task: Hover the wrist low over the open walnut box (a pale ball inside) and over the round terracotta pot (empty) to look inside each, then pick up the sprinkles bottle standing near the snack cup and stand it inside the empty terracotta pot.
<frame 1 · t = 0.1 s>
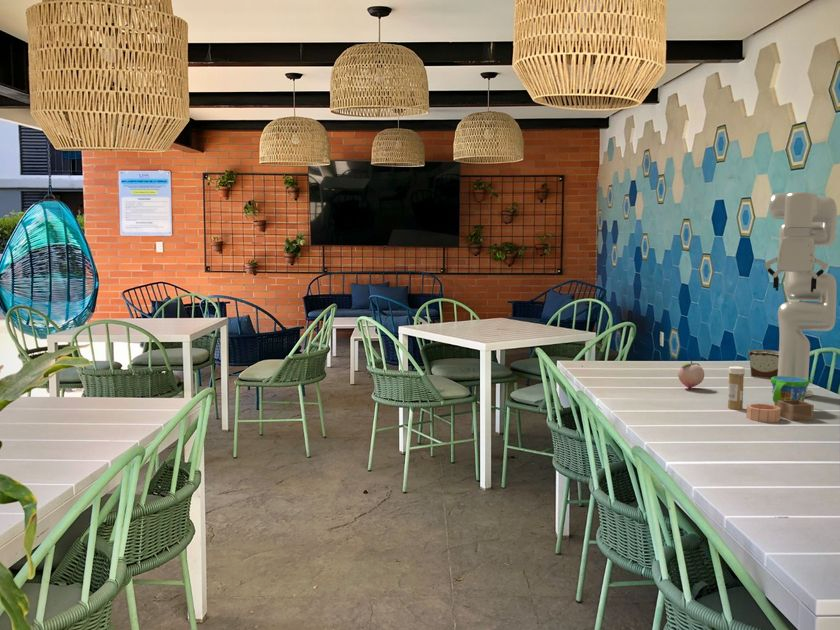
hand: (794, 291, 246), 37 cm above the table, tool pointing down, fingers open, 9 cm apart
walnut box: (794, 419, 240), on the table
sprinkles bottle: (734, 410, 252), on the table
food container: (765, 377, 313), on the table
pot: (762, 420, 239), on the table
decorative fruit: (691, 389, 287), on the table
ball: (794, 417, 240), point 1 cm above the table, touching walnut box
snack cup: (788, 411, 251), on the table
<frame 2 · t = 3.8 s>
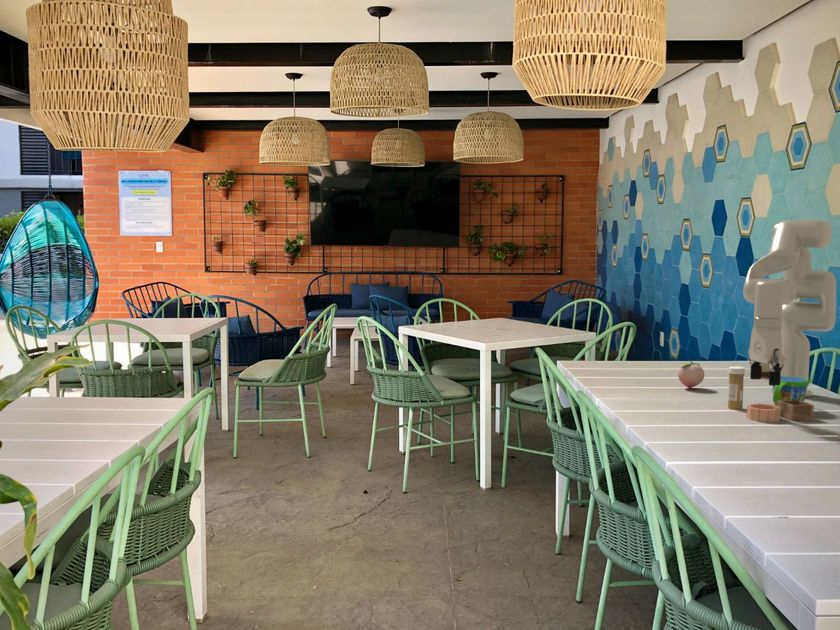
hand: (764, 382, 238), 11 cm above the table, tool pointing down, fingers open, 9 cm apart
nothing on the table moved.
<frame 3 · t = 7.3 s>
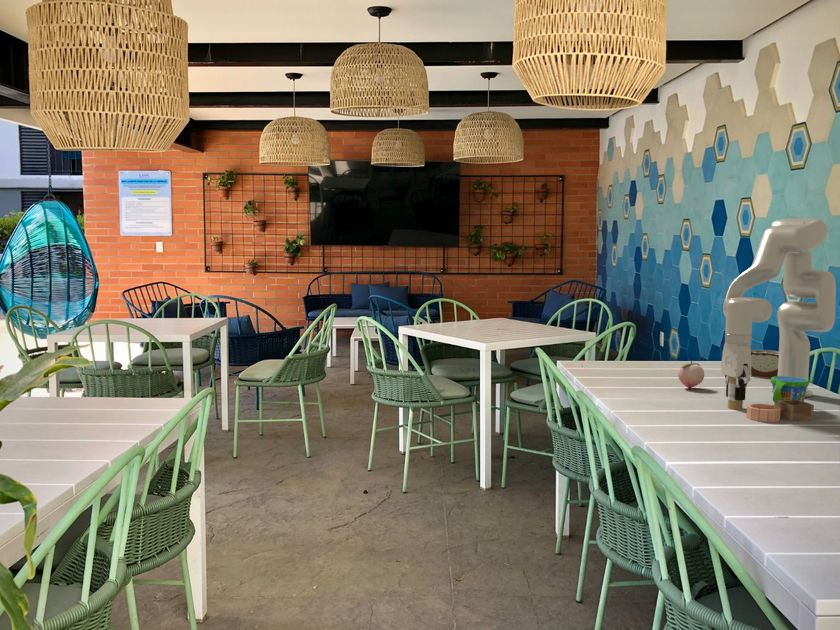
hand: (735, 397, 252), 4 cm above the table, tool pointing down, fingers closed on sprinkles bottle, 4 cm apart
sprinkles bottle: (734, 410, 252), on the table, touching gripper
everything else where it was.
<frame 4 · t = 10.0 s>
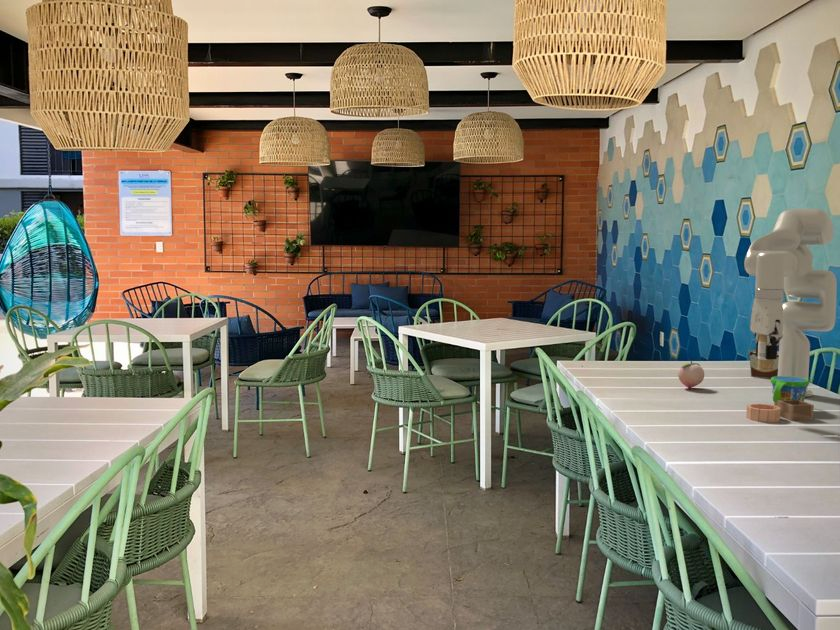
hand: (766, 357, 237), 19 cm above the table, tool pointing down, fingers closed on sprinkles bottle, 4 cm apart
sprinkles bottle: (765, 370, 237), point 15 cm above the table, touching gripper
everything else where it was.
when the fingers open (6 cm above the table, at t = 12.6 s): sprinkles bottle drops 1 cm, resting on pot.
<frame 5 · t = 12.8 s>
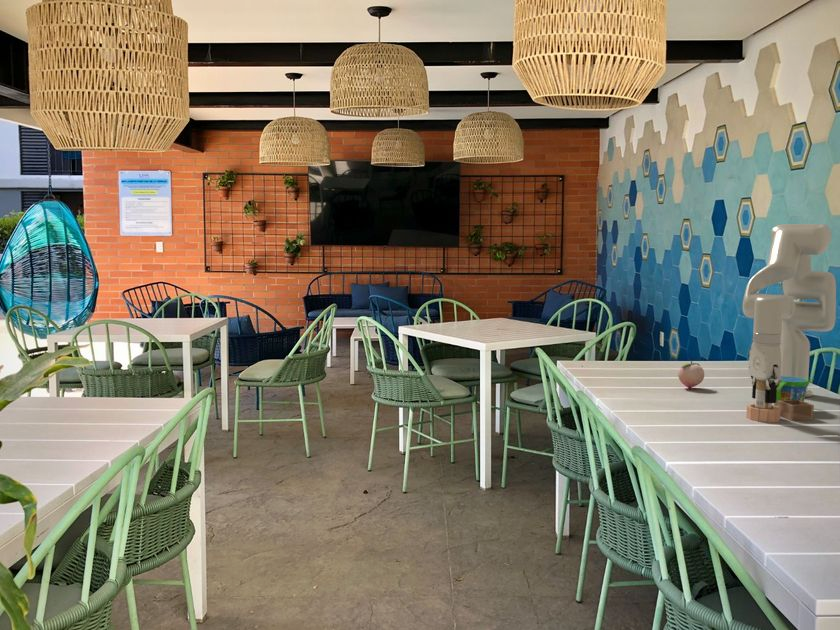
hand: (763, 400, 238), 6 cm above the table, tool pointing down, fingers open, 6 cm apart
sprinkles bottle: (762, 418, 239), resting on pot
everything else where it was.
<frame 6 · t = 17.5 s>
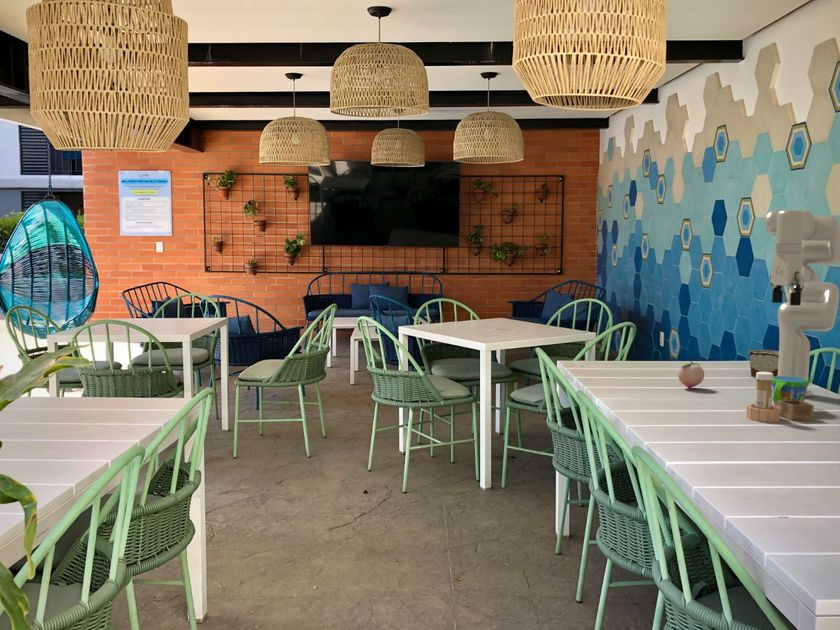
hand: (785, 304, 258), 32 cm above the table, tool pointing down, fingers open, 9 cm apart
nothing on the table moved.
at the end: sprinkles bottle 0.3 cm from the pot (horizontally); sprinkles bottle tilted 0°; the gripper is holding nothing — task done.
